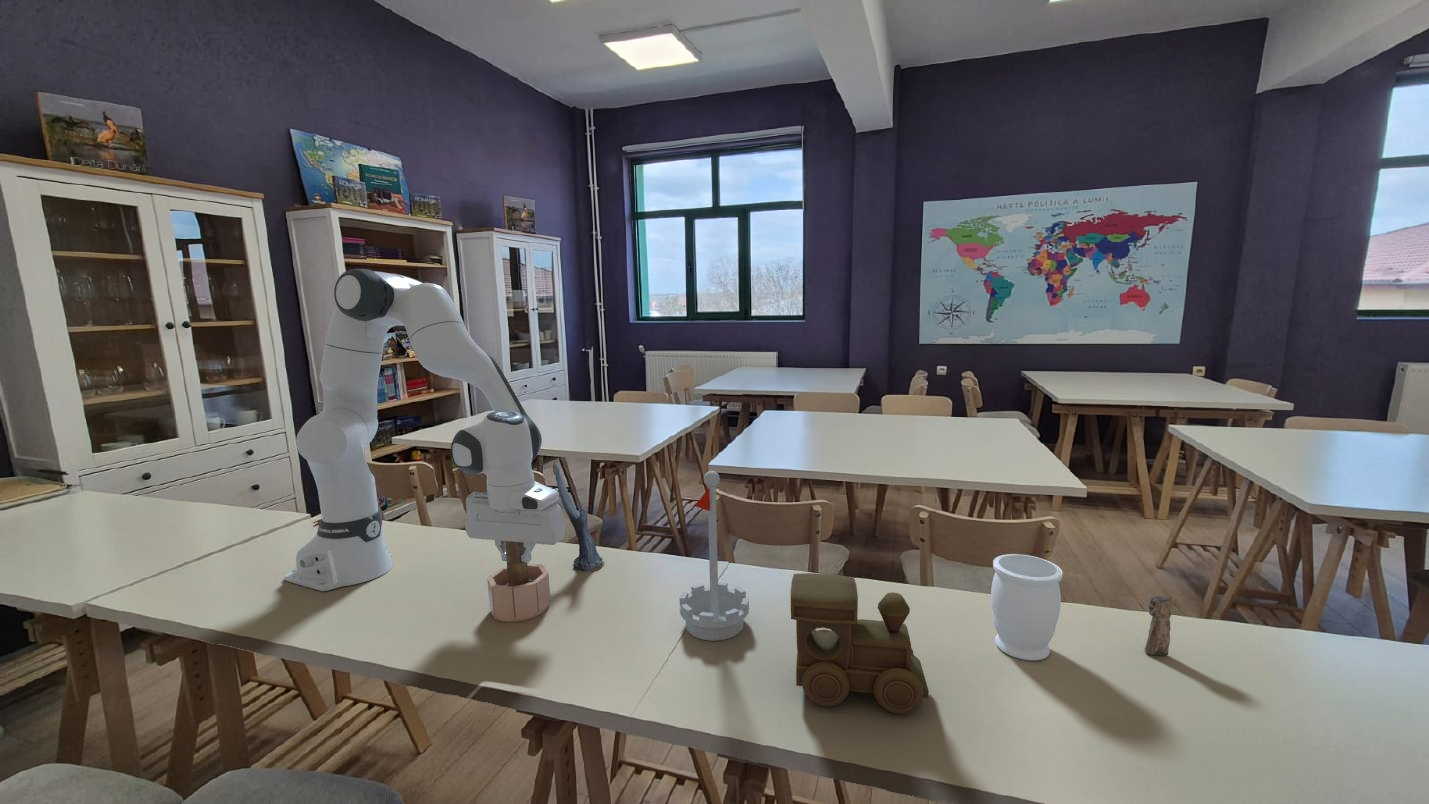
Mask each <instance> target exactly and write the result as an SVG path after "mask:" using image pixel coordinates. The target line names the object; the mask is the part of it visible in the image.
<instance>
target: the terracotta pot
mask: <svg viewBox="0 0 1429 804" xmlns="http://www.w3.org/2000/svg"><path fill="white" fill-rule="evenodd" d="M527 564H528V577H529V579H534V580H535V581H533V582H530V583H526V584H522V585H518V586H514V587H512V586H505V585H506V584H507V583H508V573H507V566H504V567H501V568H499V569H498V570H496V571H495V572H494V573H492V574H491V575H489V576H488V577H487V590H488V591H487V592H488V601H489V608H490V610H491V616H492V617H493V619H494V620H496V621H499V622H502V623H519V622H524V621H525V622H526V621H530V620H531V619H534V618H536V617H538V616H540V615H542V614H543V613H545V611H547V610H548V608H549V605H550V602H551V592H550V591H551V590H550V578H549V577H550V574H549V573H550V572H549V571H548V570H547V568H546V567H545V566H544V565H543V564H538V563H530V562H529V563H527Z"/></svg>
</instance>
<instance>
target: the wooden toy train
mask: <svg viewBox="0 0 1429 804" xmlns="http://www.w3.org/2000/svg"><path fill="white" fill-rule="evenodd" d="M790 584H791V585H790V586H791V587H790V619H791V620H794V621H796V622H795V623H796V628H795V629H796V630H795V631H796V632H795V633H796V651H797V652H796V662H795V663H796V664H795V666H796V667H795V668H796V669H795V671H796V672H795V675H796V676H795V678H796V680H795V685H796V687H802V689H803V692H804V693H805V696H806V697H807V698H809V700H810V701H811V702H813V703H815V704H816V705H818V706H820V707H821V706H822V707H827V708H828V707H834V706H839V704H841V703H842V702H844V701H845V699H847V697H848V696H849V694H850V692H858V693H866V694H867V693H869V694H873V697H874V698H875V699H876V701H877V703H878V704H879V705H880V706H881V707H882V708H883V709H884V710H886V711H888V712H890V713H891V714H896V715H905V714H908V713H911V712H914V711H915V710H916V709H918V707H919V706H920V704H922V703H921V702H922V701H923V699H929V697H930V696H929V695H930V694H929V693H930V692H929V688H928V685H927V681H926V677H925V674H924V671H923V666H922V663H921V660H920V659H919V658H918V657H916V655H915V654H914V650H913V647H912V643H911V637H910V633H909V630H908V627H907V625H906V623H904V622H905V621H906V619H907V618H908V616H909V614H910V612H911V608H910V606H909V605H908V603H907V601H906V599H905V598H904V597H903V595H902V594H900V593H898V592H893V591H891V592H887V593H886V594H885V595H884V596H883V597H882V599H880V601H879V602H878V603H877V609H878V611H879V614H880V616H881V618H882V620H875V619H874V620H873V619H861V618H860V619H858V613H859V611H858V610H859V609H858V608H859V603H858V601H859V596H858V595H859V594H858V587H857V583H856V579H855V577H854V576H849V575H848V576H847V575H842V574H840V575H839V574H832V573H830V574H829V573H816V572H815V573H813V572H811V573H810V572H808V573H807V572H805V573H804V572H803V573H793V576H792V579H791V583H790ZM817 629H818V630H817Z"/></svg>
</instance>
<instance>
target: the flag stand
mask: <svg viewBox="0 0 1429 804" xmlns="http://www.w3.org/2000/svg"><path fill="white" fill-rule="evenodd" d="M720 481H721V480H720V475H719V473H718V472H716V471H715V470H708V471H707V472H705V473H704V476H703V482H704V484H705V485H706V486H707V489H706V490H705V492H704V493H703V495H702V496H701V497H700V499H698V501H697V502H696V504H695V505H694V507H696V508H699V509H702V510H705V511H707V512H708V513H707V516H708V551H709V552H708V554H709V555H708V556H709V557H708V558H709V587H705V585H704V583H698V584H694V585H693V586H690V587H691V591H690V592H686V591H683V592H682V593H681V594H680V597H679V614H680V616H681V618H682V619H683V620H684V621H685V629H686V631H687V632H688V634H690V635H691V636H693V637H694V638H697V639H700V640H705V641H713V642H715V641H723V640H728V639H731V638H733V637H735V636H736V635H738V634H740V633H741V632H742V630H743V629H744V626H745V625H744V624H745V623H744V619H746V617H747V616H748V614H749V613H750V611H749V610H750V597H747V591H746V590H745V589H744V588H742V587H740V586H736V587H735V588H734V589H731V588H729V587H728V585H729V584H728V582H722V581H719V578H718V577H719V576H718V575H719V569H718V568H719V566H718V565H719V564H718V562H719V561H718V529H717V528H718V527H717V525H718V522H717V520H718V519H717V485H719V483H720Z"/></svg>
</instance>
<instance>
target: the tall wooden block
mask: <svg viewBox="0 0 1429 804" xmlns="http://www.w3.org/2000/svg"><path fill="white" fill-rule="evenodd" d="M505 548H506V560H507V561H506V567H507V573H508V585H509V586H512V587H514V586H518V585H522V584H526V583H529V577H528V564H527V563H522V562H520V554H522V553H523V552H524V551H525V550H526V548H527V547H524V543H523V542H511V541H505Z"/></svg>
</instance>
